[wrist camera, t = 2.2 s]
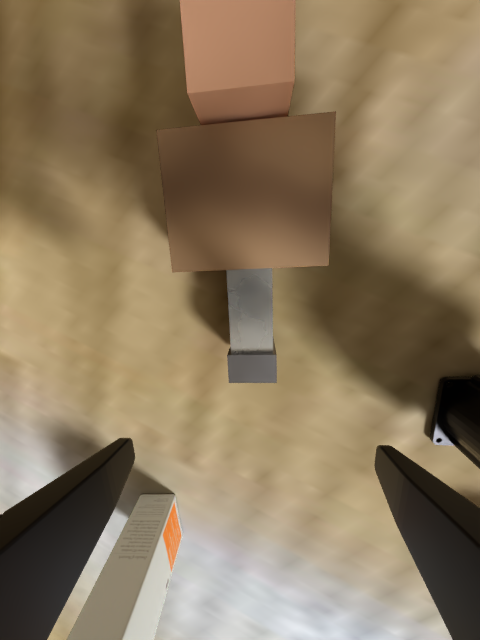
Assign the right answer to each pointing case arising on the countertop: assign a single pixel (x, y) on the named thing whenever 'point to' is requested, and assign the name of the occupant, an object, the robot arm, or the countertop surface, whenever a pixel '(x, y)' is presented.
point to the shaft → (251, 326)
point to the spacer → (239, 58)
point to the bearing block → (249, 193)
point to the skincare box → (134, 575)
